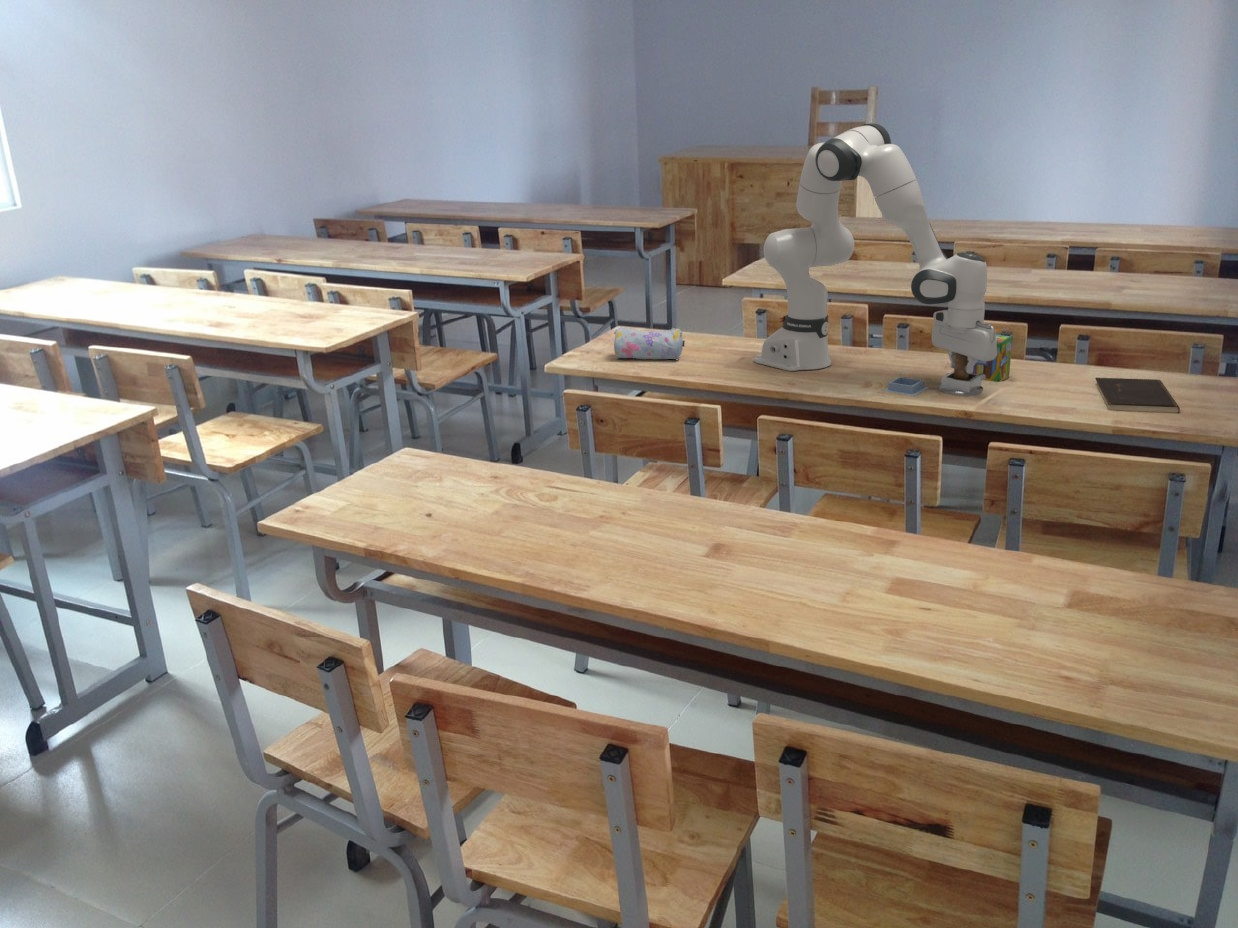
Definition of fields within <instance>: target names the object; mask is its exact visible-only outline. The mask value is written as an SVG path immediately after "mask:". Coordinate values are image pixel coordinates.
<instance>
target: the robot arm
mask: <svg viewBox="0 0 1238 928" xmlns="http://www.w3.org/2000/svg"><path fill="white" fill-rule="evenodd" d="M891 140H892V139H891V136H890V134H889V132H888V131H887V129H886V128H885V127H884V126H882V125H881V124H878V123H872V122H871V123H870V122H869V123H865V124H862V125H860V126H857V127H853V128H850V129H848V130H845V131H843V132H842V133H840V134H838V135H836V136H834V137H833V138H832V137H831V138H830V139H828V140H826V141H825V142H819V143H816V144H814V145H812V147H810V149H809V150H808V152H807V155H806V157H805V160H804V163H803V167H802V170H801V175H800V178H799V179H800V180H799V184H798V185H799V186H798V189H797V190H798V191H797V198H796V203H795V208H796V210H797V212H798V214H799V215H800V216H801V217H802V218H803V219H804V220H805V221H806V220H807V221H809V222H811V225H810V226H807V227H800V228H799V227H797V228H796V227H795V228H785V229H781V230H778V231H775V232H771V233H769V235H768V236H767V238H766V239H765V240H764V244H763V255H764V259H765V261H766V263H768V265H769V266H770V267H771V268H773V269H774V270H776V272H777V273H778V274H779V275H780V276H781V277H782V279H783V282H784V284H785V288H786V294H787V314H785V315H784V316H783V317H781V318H779V322H778V323H782V325H781V327H780V328H779V329H777V330H776V331H775V332H773V333H772V334H771V335H769V336H768V337H767V338H765V340H764V341H763V343H762V346H761V347H762V348H761V353H758V354H756V355H755V356H753V357H754V358H753V362H754V363H757V364H761V365H765V366H768V367H772V368H776V369H780V370H784V371H789V372H795V371H804V370H805V371H809V370H818V369H823V368H827V367H829V366H831V365H832V361H831V358H830V352H829V345H828V344H829V343H828V334H829V315H828V295H829V294H828V293H829V291H828V289H827V287H826V285H825V284H824V283H822V282H821V281H820V280H817V279H815V278H814V277H811V274H810V268H817V267H830V266H835V265H839V264H843V263H846V262H847V261H849V260H850V259H851V257H852V255H853V253H854V250H855V239H854V236H853V234H852V232H851V231H850V230H849V229H848V228H847V227H845V226H844V225H843V223H842V222H841V221H840V218H839V213H838V212H839V201H840V194H841V190H842V183H843V181H855V180H856V179H857V178H858V177H861V178H864V179H865V180H866V182H867V183H868V184H869V187H870V190H871V193H872V195H873V197H874V200H875V203H876V205H877V207H878V210H879V211H880V213H881V214H882V216H883V218H884V219H885V221H887V222H888V223H890V224H892V225H894V226H896V227H898V228H899V229H901V230H902V231H903V232H904V233H905V235H906V237H907V238H908V241H909V242H910V244H911V247H912V250H913V251H914V254H915V257H916V258H917V260H918V265H919V270H918V272H917V273H915V275H914V276H913V278H912V281H911V284H910V290H911V293H912V294H911V295H913V297H914V299H915V300H916V301H918V302H919V303H921V304H923V305H938V304H946V303H948V308H947V309H943V310H938V311H935V312H934V313H933V320H934V321H933V324H932V330H931V343H932V345H933V347H936V348H940V349H943V350H945V351H948V352H947V355H948V357H949V360H950V368H951V369H954V365H955V353H958V354H961V355H965V356H968V361H969V362H968V364H967V365H966V366H964V372H966V373H972V372H973V367H974V365H975V364H976V362H977V361H978V360H981V361H984V362H985V361H991V360H994V359H995V357H996V354H997V342H996V333H997V331H996V329H995V328H994V327H993V324H992V323H986V322H984V321H985V308H986V302H985V294H986V292H987V288H988V287H987V285H988V267H987V262H986V260H985V258H983V257H982V256H981V255H979V254H976V253H971V252H962V251H961V252H957V253H955V254H954V255H953V256H951V257H949V258H948V257H947V255H946V254H945V253H944V252H943V250H942V248H941V245H940V243H939V240H938V239H937V236H936V234H935V231H934V229H933V227H932V225H931V222H930V219H929V217H928V213H927V210H926V206H925V202H924V198H923V194H922V191H921V190H922V189H921V187H920V184H919V182H918V179H917V177H916V174H915V172H914V170H913V168H912V166H911V164H910V162H909V160H908V158H907V157H906V154H905V153H904V151H903V150H902V149H901V147H900V146H899V145H897V144H893V143H892V141H891ZM991 324H992V325H991ZM991 328H992V329H991Z"/></svg>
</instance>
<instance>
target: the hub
mask: <svg viewBox="0 0 1238 928" xmlns="http://www.w3.org/2000/svg"><path fill="white" fill-rule="evenodd" d="M981 378H982V375H979V374H972V373H968V381H966V380H960V379H954V370H952V371H951V372H949V373H947V374H946V375H944V376H942V377H941V381H940V384H939V385H938V390H939V392H941V393H943V394H947V395H951V396H958V397H959V396H962V397H965V396H966V397H968V396H970V397H971V396H976V395H979V394H982V393H983V392H984V386H982V379H981Z"/></svg>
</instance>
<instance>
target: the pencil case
mask: <svg viewBox="0 0 1238 928" xmlns="http://www.w3.org/2000/svg"><path fill="white" fill-rule="evenodd" d="M613 334H614V341H613V349H614V354H615V356H616V359H617V358H633V359H634V358H636V359H635V360H646V359H679V356H680V355H681V356H682V354H683V353H682V352H683V347H685V340H684V339H683V337H682V336H683V331H681V329H680V328H675V327H671V329H669V330H657V331H656V330H655V331H646V330H638V329H632V328H627V327H622V326H621V327H618V328H616V329H615V331H614V332H613ZM681 356H680V357H681ZM679 360H680V359H679Z"/></svg>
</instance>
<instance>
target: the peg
mask: <svg viewBox="0 0 1238 928" xmlns="http://www.w3.org/2000/svg"><path fill="white" fill-rule="evenodd" d="M968 362H969V361H968V356H965V355H961V354H958V353H955V365H954V368H953V371H954V379H960V380H966V381H968V373H966V372H964V366H966V365H967V364H968Z"/></svg>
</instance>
